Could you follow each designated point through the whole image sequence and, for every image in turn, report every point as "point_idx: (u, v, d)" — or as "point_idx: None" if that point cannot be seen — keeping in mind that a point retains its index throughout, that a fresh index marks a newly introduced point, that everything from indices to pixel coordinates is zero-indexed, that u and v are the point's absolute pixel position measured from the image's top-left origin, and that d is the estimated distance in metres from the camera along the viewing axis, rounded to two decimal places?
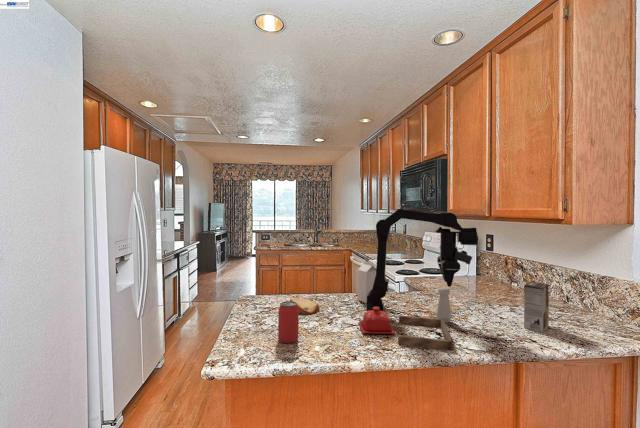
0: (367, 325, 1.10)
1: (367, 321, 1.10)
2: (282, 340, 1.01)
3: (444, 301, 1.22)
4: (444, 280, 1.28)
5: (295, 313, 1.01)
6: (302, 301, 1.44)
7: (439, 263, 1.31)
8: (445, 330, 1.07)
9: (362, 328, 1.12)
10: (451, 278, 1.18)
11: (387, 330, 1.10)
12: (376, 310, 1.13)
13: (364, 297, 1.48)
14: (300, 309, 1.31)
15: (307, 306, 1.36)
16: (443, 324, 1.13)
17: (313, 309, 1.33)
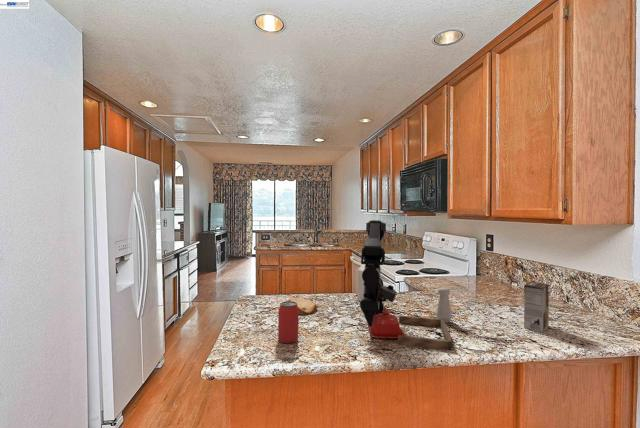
0: (377, 329, 1.06)
1: (377, 325, 1.06)
2: (282, 340, 1.01)
3: (444, 301, 1.22)
4: None
5: (295, 313, 1.01)
6: (300, 301, 1.44)
7: (367, 297, 1.22)
8: (445, 330, 1.07)
9: (371, 332, 1.08)
10: (371, 317, 1.09)
11: (398, 334, 1.06)
12: (386, 314, 1.09)
13: None
14: (298, 309, 1.31)
15: (305, 306, 1.36)
16: (443, 324, 1.13)
17: (311, 309, 1.32)
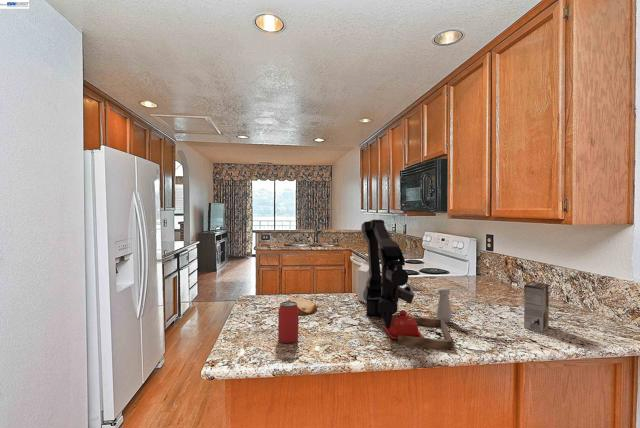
0: (396, 330, 1.05)
1: (395, 326, 1.05)
2: (282, 340, 1.01)
3: (444, 301, 1.22)
4: None
5: (295, 313, 1.01)
6: (300, 301, 1.44)
7: (383, 298, 1.20)
8: (445, 330, 1.07)
9: (390, 333, 1.07)
10: (389, 319, 1.07)
11: (416, 335, 1.05)
12: (403, 314, 1.08)
13: None
14: None
15: (305, 306, 1.36)
16: (443, 324, 1.13)
17: (311, 309, 1.32)
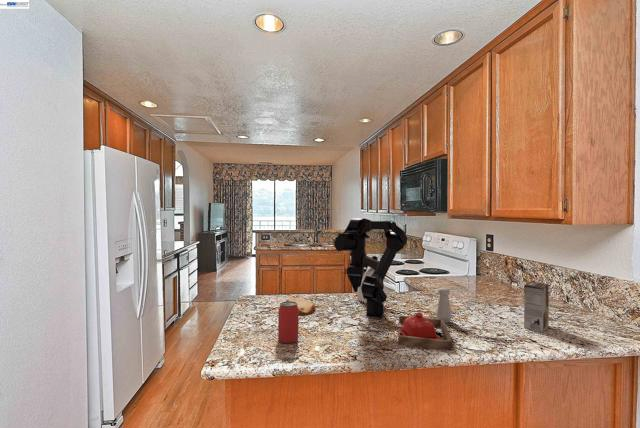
0: (413, 333, 1.03)
1: (413, 329, 1.03)
2: (282, 340, 1.01)
3: (443, 300, 1.22)
4: None
5: (295, 313, 1.01)
6: (299, 301, 1.44)
7: None
8: (445, 330, 1.07)
9: None
10: (356, 283, 1.19)
11: (433, 337, 1.04)
12: (420, 316, 1.06)
13: None
14: None
15: (303, 306, 1.35)
16: (443, 324, 1.13)
17: (309, 309, 1.32)
